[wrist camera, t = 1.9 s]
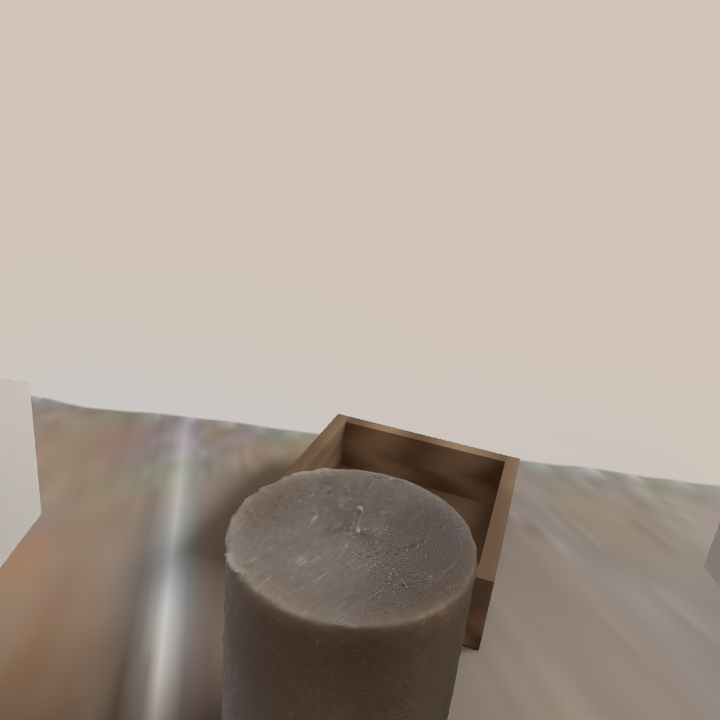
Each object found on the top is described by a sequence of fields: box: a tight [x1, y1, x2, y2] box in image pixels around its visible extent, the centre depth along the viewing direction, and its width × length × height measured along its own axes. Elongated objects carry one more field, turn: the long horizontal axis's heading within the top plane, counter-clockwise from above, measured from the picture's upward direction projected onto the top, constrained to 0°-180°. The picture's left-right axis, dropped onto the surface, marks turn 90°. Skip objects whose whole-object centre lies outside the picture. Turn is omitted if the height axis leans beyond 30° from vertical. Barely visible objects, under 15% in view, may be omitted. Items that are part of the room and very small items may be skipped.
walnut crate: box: [279, 414, 520, 650], centre depth 44 cm, size 15×15×5 cm
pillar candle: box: [222, 468, 477, 720], centre depth 26 cm, size 10×10×15 cm
